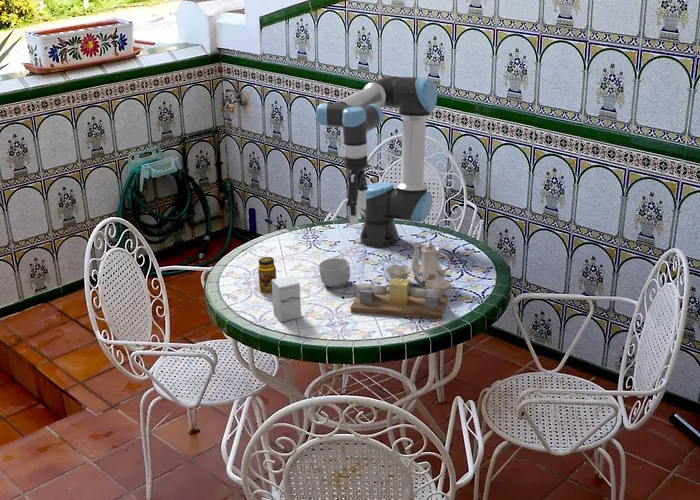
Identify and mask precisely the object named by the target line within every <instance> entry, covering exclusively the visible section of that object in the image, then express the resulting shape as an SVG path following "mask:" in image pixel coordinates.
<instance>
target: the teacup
mask: <svg viewBox="0 0 700 500" xmlns="http://www.w3.org/2000/svg"><path fill="white" fill-rule="evenodd" d="M318 269H319V276H320V280H321V283H323V284H324V285H325V286H327V287H329V288H340V287H343V286H345V285H346V284H347V283H348V282H349V280H350V277H351V271H350V261H349V260H347V259H345V258H341V257H338V256H335V255H334V256H332V258H327V259H325V260H323V261H321V262H319V264H318Z"/></svg>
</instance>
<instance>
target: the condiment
mask: <svg viewBox="0 0 700 500" xmlns="http://www.w3.org/2000/svg"><path fill="white" fill-rule="evenodd" d="M257 273H258V281H259V282H258V283H259V285H256V286H254V288H255V289H256V290H257V292H258V293H259V295H261V296H262V297H264V296H268V295H269V296H270V295H272V281H271V280H272V279H277V268H276V265H275V259H274V258H273V257H270V256H264V257H261V258H259V259H258V268H257Z"/></svg>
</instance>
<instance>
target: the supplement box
mask: <svg viewBox="0 0 700 500" xmlns="http://www.w3.org/2000/svg"><path fill="white" fill-rule="evenodd" d="M271 281H272V294H271V295H272V307H273V314H274V315H275V316H276V318H277V319H278V320H279V322H280V323H282V322H286V321H290V320H294V319H300V318H302V307H301V289H300V288H301V287H300V282H299V281H298V280H297V279H296V278H295V277H294V276H293V275H288V276H283V277H278V278H277V277H276V279H272V280H271Z"/></svg>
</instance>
